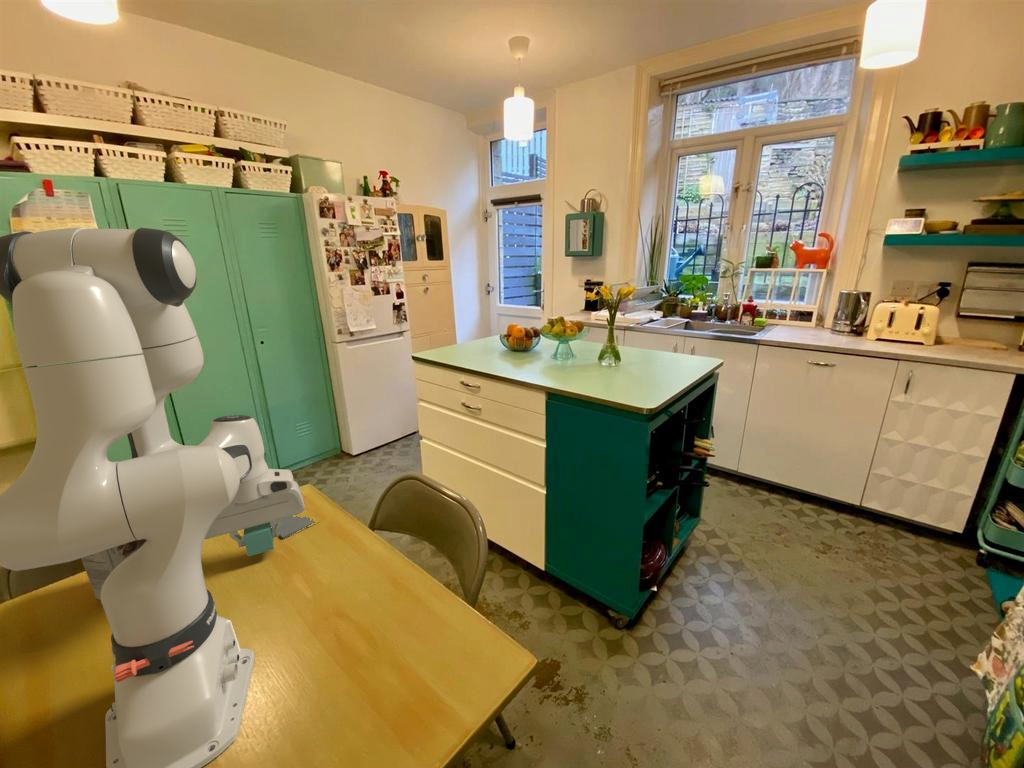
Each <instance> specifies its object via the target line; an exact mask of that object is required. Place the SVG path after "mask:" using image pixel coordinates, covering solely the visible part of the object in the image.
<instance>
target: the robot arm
mask: <svg viewBox="0 0 1024 768" xmlns="http://www.w3.org/2000/svg"><path fill="white" fill-rule="evenodd" d="M196 269H197V268H196V264H195V261H194V259H193V257H192V255H191V252H190V251H189V249H188V247H187V246H186V244H185V243H184V242H183V241H182V239H180V238H179V237H177V236H176V235H175V234H173V233H172V232H170V231H167V230H161V229H156V228H149V227H139V228H137V229H131V228H130V229H129V228H128V229H127V228H107V227H106V228H89V227H85V226H83V227H68V228H59V229H57V228H56V229H50V230H41V231H37V232H32V231H19V232H14V233H8V234H5V235H2V236H0V296H1V297H2V298H3V299H4V300H6V301H7V302H8V303H10V304H12V321H13V330H14V337H15V342H16V347H17V351H18V355H19V359H20V362H21V367H22V368H23V369H22V370H23V373H24V375H25V378H26V383H27V387H28V389H29V393H30V396H31V401H32V406H33V410H34V417H35V423H36V441H35V446H34V450H33V452H32V455H31V457H30V460H29V461H28V463H27V465H26V466H25V468H24V469H23V471H21V473H20V474H19V476H18V477H17V478H16V479H15V481H13V483H11V484H10V485H9V487H8V488H6V489H5V490H4V491H3V492H2V493H0V567H2V568H5V569H7V570H10V571H15V572H20V571H25V570H26V571H27V570H31V569H37V568H43V567H44V568H45V567H49V566H54V565H59V564H64V563H65V564H66V563H70V562H74V561H76V560H79V559H81V558H83V557H86V556H89V555H92V554H95V553H98V552H101V551H104V550H107V549H110V548H114V547H117V546H120V545H123V544H126V543H129V542H132V541H135V540H141V539H146V542H145V543H144V544H143V545H142V546H141V547H140V548H139V549H138V550H137V551H135V552H134V553H133V554H131V555H130V556H128V557H127V558H126V559H125V560H123V561H122V562H121V563H120V564H119V565H118V566H117V567H116V568H115V569H114V570H113V571H112V572H111V573H110V575H109V576H108V577H107V579H106V580H105V582H104V584H103V586H102V589H101V594H100V603H101V605H102V608H103V610H104V614H105V616H106V620H107V622H108V625H109V627H110V631H111V636H110V640H111V641H110V642H111V652H112V657H113V660H114V661H113V663H112V664H111V665H110V669H111V672H112V674H113V685H114V700H115V701H114V702H112V703H111V706H110V708H108V710H107V711H106V714H105V719H104V720H105V721H104V722H105V761H106V763H105V764H106V765H105V766H106V767H105V768H203V767H205V765H207V764H209V763H210V762H212V761H213V760H215V759H216V758H217V757H218V756H219V755H220V754H222V753H223V752H224V751H225V750H227V748H229V746H231V744H233V742H235V740H236V739H237V737H238V735H239V732H240V731H239V730H240V727H241V724H242V717H243V713H244V710H245V709H244V708H245V706H246V705H245V704H246V700H247V696H248V690H249V686H250V682H251V681H250V680H251V678H252V677H251V676H252V673H253V668H254V664H255V659H256V655H255V652H254V650H253V649H250V648H241V646H240V644H239V640H238V638H237V635H236V632H235V629H234V626H233V623H232V621H231V620H230V619H228V618H225V617H223V616H220V615H218V611H217V607H216V602H215V599H214V597H213V596H212V593H211V591H210V590H208V589H207V585H206V582H205V576H204V571H203V565H202V549H203V546H204V541H205V540H209V539H212V538H215V537H221V536H223V535H227V534H229V537H230V538H231V539H232V540H234V541H235V542H237V546H238V548H243V547H246V546H245V541H244V535H242V536H241V534H239V533H238V531H242V530H244V529H246V528H249V527H253V526H257V525H260V524H264V523H268V522H271V521H275V524H276V525H275V527H273V528H271V535H272V538H273V539H275V538H276V537H277V538H278V537H280V536H279V528H280V526H281V524H282V518H286V517H289V516H293V515H297V514H300V513H302V512H303V511H304V509H306V506H305V501H304V497H303V494H302V490H301V489H300V486H299V484H298V483H297V482H296V481H295V480H294V476H293V475H294V474H293V473H292V471H291V470H290V469H283V468H282V469H281V468H280V469H278V468H269V466H268V463H267V462H266V460H265V445H264V441H263V436H262V434H261V433H262V432H261V430H260V428H259V425H258V423H257V420H255V418H254V417H252V416H250V415H246V414H245V415H243V414H241V415H238V414H237V415H236V414H234V415H225V416H219V417H217V418H215V419H213V420H211V424H210V425H211V426H210V430H209V432H208V434H207V435H206V437H204V439H203V440H202V441H201V442H200V443H199V444H197V445H189V444H188V445H186V444H184V445H183V444H181V443H179V442H177V441H175V440H174V439H173V438H172V437H171V432H170V427H169V424H168V420H167V419H168V418H167V413H166V410H165V400H166V398H167V396H168V395H170V394H171V393H173V392H175V391H177V390H180V389H182V388H183V387H185V386H188V385H190V383H192V382H193V381H194V380H195V379H196V378H197V377H198V376H199V374H201V373H200V372H201V371H202V369H203V366H204V363H205V362H204V361H205V360H204V358H205V357H204V352H203V348H202V345H201V344H202V343H201V341H200V339H199V336H198V333H197V330H196V327H195V324H194V322H193V319H192V317H191V315H190V312H189V310H188V308H187V307H186V305H185V303H184V300H186V299H188V298H189V297H190V296H191V294H193V291H194V290H195V289H196V286H197V270H196ZM126 436H127V439H128V443H129V447H130V451H131V458H130V459H129V458H128V459H125V460H121V461H111V460H109V459H108V455H107V454H108V450H109V448H110V447H111V446H112V445H113V444H114V443H116V442H118V441H119V440H121V439H122V438H124V437H126Z"/></svg>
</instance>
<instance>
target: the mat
mask: <svg viewBox="0 0 1024 768" xmlns="http://www.w3.org/2000/svg"><path fill="white" fill-rule="evenodd" d="M270 523H271V527H272V528H273V527H275V525H276V524H275V521H271V522H270ZM312 523H315V522H314V521H313V519H312V520H311V521H310V518H309V517H308V518H306V516H305V517H303V518H301V517H298V516H296V517H293V516H289V517H286V518H282V524H281V526H280V528H279V535H280V536H281V537H282V538H285V539H287V538H289V537H291V536H293V535H292V534H294V533H296V532H297V531H299V530H302V529H303V528H305V527H308V526H309V525H311V524H312ZM308 528H309V527H308ZM302 531H303V530H302ZM296 534H297V533H296ZM290 535H291V536H290ZM294 535H295V534H294ZM280 536H279V537H280ZM288 536H289V537H288ZM281 537H280V538H281ZM286 537H287V538H286ZM282 538H281V539H282Z"/></svg>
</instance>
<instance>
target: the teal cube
mask: <svg viewBox="0 0 1024 768" xmlns="http://www.w3.org/2000/svg"><path fill="white" fill-rule="evenodd" d="M243 536H244V541H245V546H244V547H245V549H246V553H247V554H246V555H247V557H248V558H249V557H251V556H255V555H258V554H261V553H265V552H268V551H271V550H274V549H275V547H274V545H275V544H274V543H275V542H274V539H275V538H272V535H271V523H270V522H268V523H264V524H260V525H257V526H253V527H249V528H246V529H243Z"/></svg>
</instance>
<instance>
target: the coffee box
mask: <svg viewBox="0 0 1024 768" xmlns="http://www.w3.org/2000/svg"><path fill="white" fill-rule="evenodd" d="M145 542H146V539H141V540H135V541H132V542H129V543H126V544H123V545H120V546H117V547H114V548H110V549H107V550H104V551H101V552H98V553H95V554H92V555H89V556H86V557H83V558H80V559H81V562H82V566H83V567H84V569H85V572H86V575H87V577H88V581H89V583H90V586H91V588H92V591H93V595H94V597H95V599H96V600H100V594H101V589H102V586H103V584H104V582H105V580H106V579H107V577H108V576H109V575H110V573H111V572H112V571H113V570H114V569H115V568H116V567H117V566H118V565H119V564H120V563H121V562H122V561H123V560H125V559H126V558H127V557H128V556H130V555H131V554H133V553H134V552H135V551H137V550H138V549H139V548H140V547H141V546H142V545H143V544H144V543H145ZM100 601H101V600H100Z"/></svg>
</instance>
